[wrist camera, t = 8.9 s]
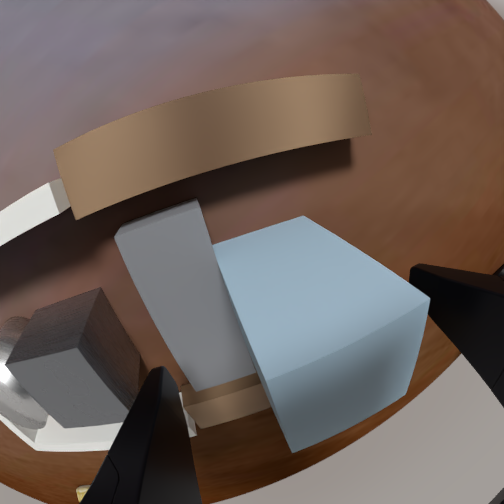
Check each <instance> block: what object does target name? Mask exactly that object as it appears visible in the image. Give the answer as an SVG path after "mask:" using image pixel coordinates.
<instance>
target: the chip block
mask: <svg viewBox="0 0 504 504" xmlns="http://www.w3.org/2000/svg"><path fill="white" fill-rule="evenodd" d="M5 366H6V367H7V369H8V370H9V371H10V372H11V374H12V375H13V376H14V377H15V378H16V380H17V381H18V382H19V383H20V384H21V385H22V387H23V388H24V389H25V390H26V391H27V392H28V393H29V394H30V395H31V397H32V398H33V399H34V400H35V401H36V402H37V403H38V404H39V405H40V406H41V407H42V408H43V409H44V410H45V411H46V412H47V413H48V414H49V415H50V416H51V417H52V418H53V419H55V420H56V421H57V422H58V423H59V424H60V425H61V426H62V427H63V428H78V427H89V426H99V425H107V424H115V423H122V422H124V420H125V418H126V416H127V414H128V412H129V410H130V408H131V406H132V405H133V403H134V401H135V399H136V397H137V395H138V384H139V366H140V354H139V352H138V351H137V349H136V348H135V346H134V344H133V343H132V341H131V340H130V338H129V336H128V335H127V333H126V331H125V330H124V328H123V326H122V325H121V323H120V321H119V320H118V318H117V316H116V314H115V313H114V311H113V309H112V307H111V305H110V304H109V302H108V300H107V298H106V296H105V294H104V292H103V290H102V288H101V287H99V288H97V289H94V290H91V291H88V292H85V293H82V294H79V295H77V296H74V297H71V298H68V299H65V300H63V301H60V302H57V303H54V304H51V305H49V306H46V307H43V308H40V309H37V310H36V311H35V313H34V314H33V316H32V317H31V319H30V321H29V322H28V324H27V325H26V327H25V329H24V331H23V332H22V334H21V336H20V337H19V339H18V341H17V343H16V344H15V346H14V348H13V350H12V352H11V354H10V356H9V357H8V359H7V361H6V363H5Z"/></svg>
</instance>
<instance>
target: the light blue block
mask: <svg viewBox="0 0 504 504" xmlns="http://www.w3.org/2000/svg"><path fill="white" fill-rule="evenodd" d="M114 238H115V241H116V243H117V246H118V248H119V250H120V253H121V255H122V257H123V260H124V262H125V264H126V266H127V268H128V271H129V273H130V275H131V277H132V279H133V281H134V283H135V286H136V288H137V290H138V292H139V294H140V296H141V298H142V300H143V302H144V304H145V306H146V308H147V310H148V311H149V313H150V315H151V317H152V319H153V321H154V323H155V325H156V326H157V328H158V330H159V332H160V334H161V335H162V337H163V339H164V341H165V342H166V344H167V346H168V348H169V349H170V351H171V353H172V354H173V356H174V358H175V359H176V361H177V363H178V364H179V366H180V368H181V369H182V371H183V372H184V374H185V376H186V377H187V379H188V380H189V382H190V383H191V385H192V386H193V388H194V389H195V391H196V392H197V391H200V390H204V389H207V388H211V387H214V386H217V385H220V384H224V383H227V382H230V381H233V380H236V379H239V378H242V377H245V376H248V375H250V374H253V373H256V371H257V373H258V376H259V378H260V380H261V383H262V385H263V388H264V390H265V392H266V395H267V397H268V399H269V402H270V404H271V406H272V409H273V411H274V413H275V416H276V418H277V420H278V423H279V425H280V427H281V429H282V432H283V434H284V436H285V438H286V441H287V443H288V445H289V447H290V449H291V452H292V453H294V452H297V451H299V450H302V449H304V448H307V447H309V446H312V445H314V444H316V443H318V442H321V441H323V440H325V439H327V438H329V437H332V436H334V435H336V434H338V433H340V432H342V431H344V430H346V429H348V428H350V427H352V426H354V425H355V424H357V423H359V422H361V421H363V420H365V419H366V418H368V417H370V416H372V415H373V414H375V413H377V412H378V411H380V410H382V409H383V408H385V407H387V406H388V405H390V404H391V403H393V402H395V401H396V400H398V399H399V398H401V397H402V396H404V395H405V394H406V392H407V389H408V386H409V383H410V380H411V377H412V374H413V370H414V367H415V364H416V360H417V356H418V353H419V349H420V345H421V341H422V337H423V333H424V328H425V324H426V319H427V314H428V309H429V303H430V298H429V297H428V296H427V295H425V294H424V293H422V292H421V291H419V290H418V289H417V288H415V287H414V286H412V285H411V284H410V283H408V282H407V281H405V280H404V279H402V278H401V277H399V276H398V275H396V274H395V273H393V272H392V271H390V270H389V269H388V268H386V267H385V266H383V265H382V264H380V263H378V262H377V261H375V260H374V259H372V258H371V257H369V256H368V255H366V254H365V253H363V252H362V251H360V250H358V249H357V248H355V247H354V246H352V245H351V244H349V243H347V242H346V241H344V240H343V239H341V238H339V237H338V236H336V235H335V234H333V233H331V232H330V231H328V230H326V229H325V228H323V227H322V226H320V225H318V224H317V223H315V222H313V221H312V220H310V219H308V218H306V217H305V216H301V217H298V218H295V219H291V220H288V221H285V222H282V223H279V224H276V225H273V226H270V227H266V228H263V229H260V230H257V231H254V232H251V233H248V234H245V235H242V236H239V237H236V238H233V239H230V240H227V241H224V242H221V243H218V244H215V245H212V243H211V240H210V237H209V234H208V231H207V228H206V224H205V221H204V218H203V215H202V212H201V208H200V205H199V203H198V200H197V198H194V199H191V200H188V201H185V202H182V203H179V204H176V205H173V206H170V207H167V208H164V209H162V210H159V211H156V212H153V213H150V214H148V215H145V216H142V217H139V218H137V219H134V220H131V221H129V222H126V223H124V224H122V225H121V227H120V229H119V230H118V232H117V233H116V235H115V237H114ZM247 348H248V349H247ZM248 351H249V352H248ZM249 353H250V354H249ZM250 356H251V357H250ZM251 358H252V360H251ZM252 361H253V362H252ZM253 363H254V365H253ZM254 366H255V368H256V370H255V368H254Z"/></svg>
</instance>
